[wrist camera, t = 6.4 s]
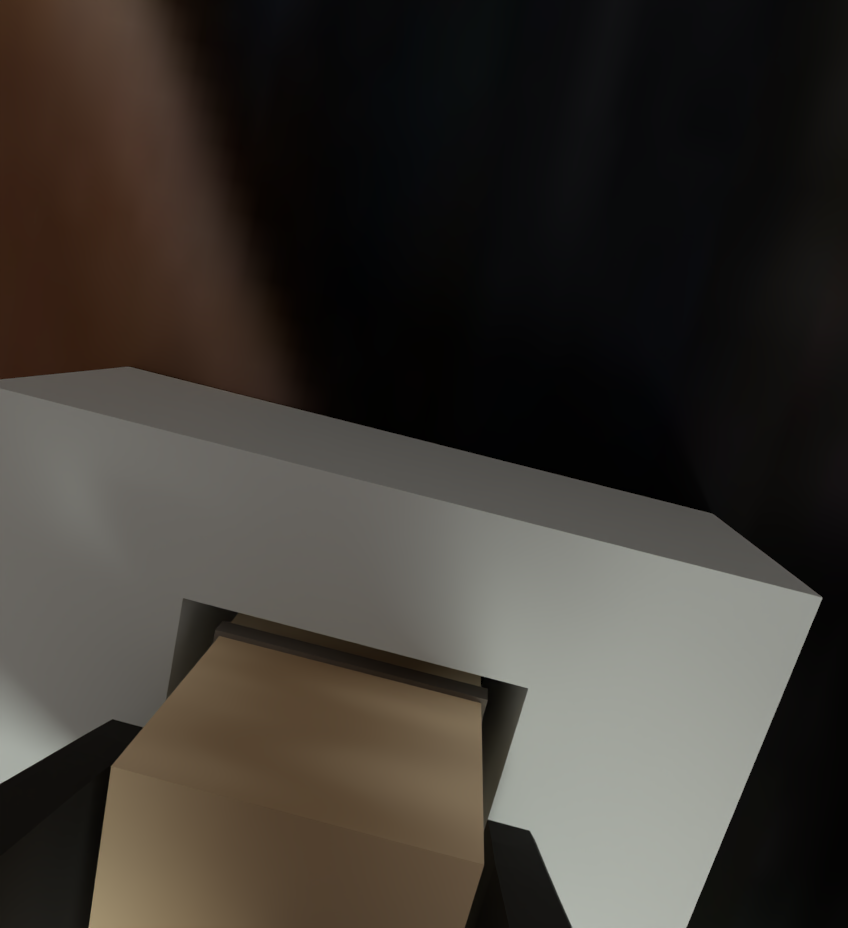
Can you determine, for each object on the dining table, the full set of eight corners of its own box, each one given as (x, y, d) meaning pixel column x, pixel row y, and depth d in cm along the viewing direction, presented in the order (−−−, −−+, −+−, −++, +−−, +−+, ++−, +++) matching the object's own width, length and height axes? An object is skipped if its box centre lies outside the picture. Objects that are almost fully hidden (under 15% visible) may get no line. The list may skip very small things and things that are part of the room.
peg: (484, 586, 13) (493, 860, 6) (437, 753, 14) (404, 1146, 7) (293, 538, 13) (104, 757, 7) (260, 707, 14) (64, 1053, 7)
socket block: (712, 513, 12) (821, 597, 8) (568, 915, 15) (602, 1129, 11) (129, 366, 13) (-26, 381, 9) (73, 781, 15) (-71, 942, 11)
